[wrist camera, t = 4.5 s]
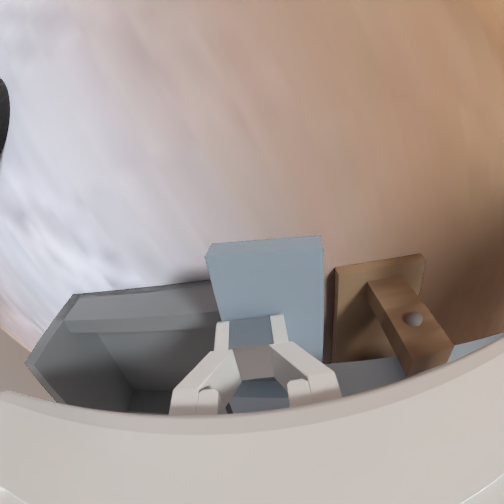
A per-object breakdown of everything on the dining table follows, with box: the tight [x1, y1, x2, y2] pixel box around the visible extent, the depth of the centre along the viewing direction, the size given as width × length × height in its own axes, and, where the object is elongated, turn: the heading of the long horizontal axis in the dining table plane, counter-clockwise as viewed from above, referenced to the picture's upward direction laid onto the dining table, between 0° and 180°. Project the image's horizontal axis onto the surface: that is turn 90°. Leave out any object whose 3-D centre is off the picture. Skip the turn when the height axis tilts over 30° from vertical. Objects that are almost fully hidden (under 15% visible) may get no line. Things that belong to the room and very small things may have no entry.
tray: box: [25, 280, 234, 415], centre depth 16 cm, size 12×11×7 cm
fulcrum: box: [331, 254, 454, 377], centre depth 15 cm, size 6×10×7 cm, turn 8°
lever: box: [205, 236, 504, 413], centre depth 10 cm, size 20×12×3 cm, turn 98°
